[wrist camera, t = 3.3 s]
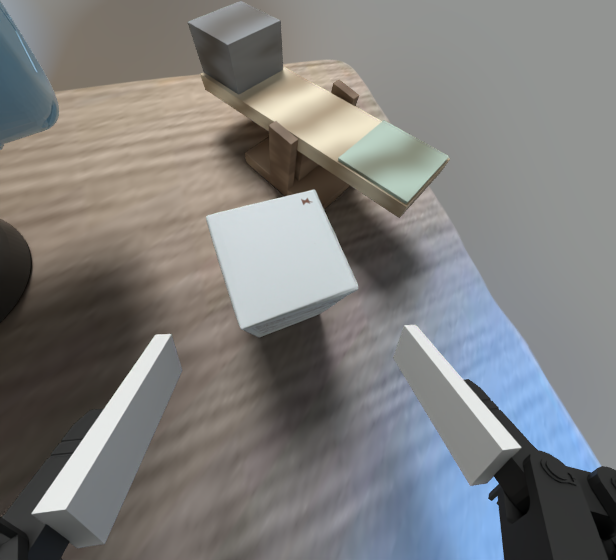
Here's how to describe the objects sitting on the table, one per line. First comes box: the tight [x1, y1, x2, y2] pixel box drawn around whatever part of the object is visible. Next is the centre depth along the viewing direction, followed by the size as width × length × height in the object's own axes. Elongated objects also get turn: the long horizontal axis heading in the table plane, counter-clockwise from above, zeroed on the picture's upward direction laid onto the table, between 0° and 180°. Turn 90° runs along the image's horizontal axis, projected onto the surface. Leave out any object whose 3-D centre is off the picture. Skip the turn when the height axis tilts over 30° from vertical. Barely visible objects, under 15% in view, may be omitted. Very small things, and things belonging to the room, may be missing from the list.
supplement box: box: [206, 190, 358, 337], centre depth 19 cm, size 7×7×13 cm
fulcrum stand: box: [245, 80, 359, 209], centre depth 27 cm, size 12×11×8 cm
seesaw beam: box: [188, 1, 450, 218], centre depth 22 cm, size 28×8×6 cm, turn 48°
